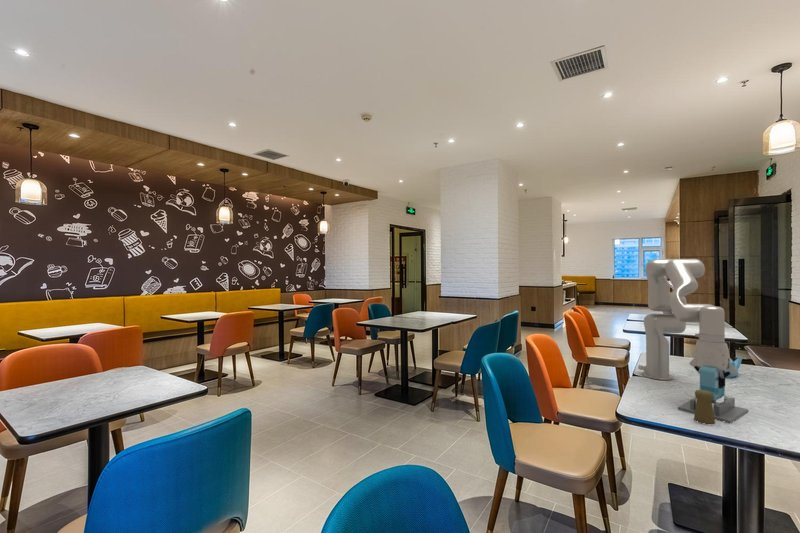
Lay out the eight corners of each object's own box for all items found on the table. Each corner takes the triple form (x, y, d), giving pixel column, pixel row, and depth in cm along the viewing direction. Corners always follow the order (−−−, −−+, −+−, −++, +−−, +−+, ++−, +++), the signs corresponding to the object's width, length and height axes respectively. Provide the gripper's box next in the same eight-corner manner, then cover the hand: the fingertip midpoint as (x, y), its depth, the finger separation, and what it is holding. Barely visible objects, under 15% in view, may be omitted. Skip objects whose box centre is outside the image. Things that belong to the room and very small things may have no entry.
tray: (677, 409, 146) (677, 396, 146) (697, 399, 157) (697, 387, 157) (730, 423, 133) (730, 409, 133) (748, 411, 143) (748, 398, 143)
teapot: (705, 368, 204) (705, 348, 204) (742, 374, 192) (742, 353, 192) (696, 373, 195) (696, 352, 195) (735, 380, 183) (734, 358, 183)
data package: (714, 401, 139) (714, 369, 139) (699, 398, 143) (699, 366, 143) (724, 395, 146) (724, 364, 146) (710, 392, 150) (710, 362, 150)
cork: (689, 418, 138) (689, 388, 138) (704, 417, 138) (704, 387, 138) (703, 425, 132) (703, 393, 132) (719, 424, 132) (719, 393, 132)
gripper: (681, 336, 150) (682, 382, 150) (737, 343, 136) (737, 393, 136) (689, 334, 154) (690, 379, 154) (744, 340, 140) (744, 390, 140)
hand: (712, 385), depth 145 cm, fingers closed on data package, 4 cm apart
